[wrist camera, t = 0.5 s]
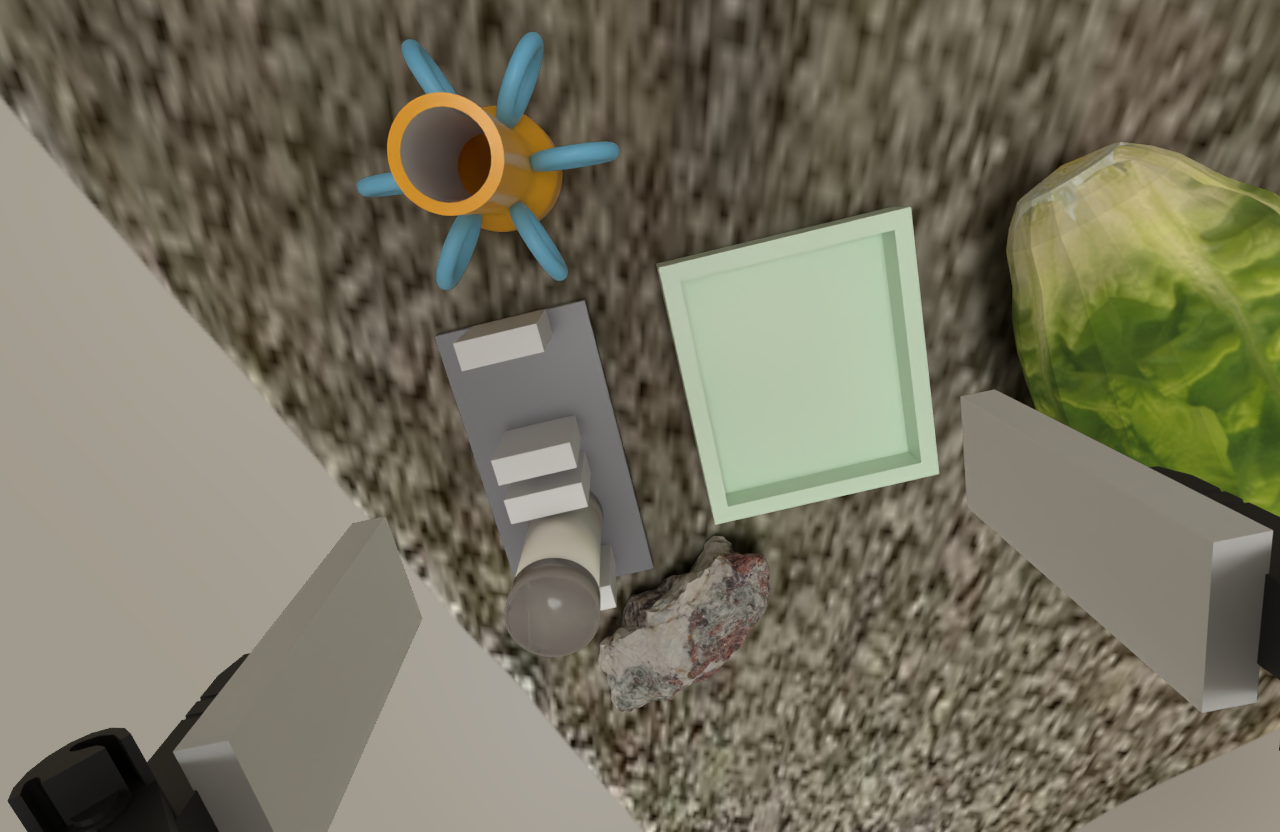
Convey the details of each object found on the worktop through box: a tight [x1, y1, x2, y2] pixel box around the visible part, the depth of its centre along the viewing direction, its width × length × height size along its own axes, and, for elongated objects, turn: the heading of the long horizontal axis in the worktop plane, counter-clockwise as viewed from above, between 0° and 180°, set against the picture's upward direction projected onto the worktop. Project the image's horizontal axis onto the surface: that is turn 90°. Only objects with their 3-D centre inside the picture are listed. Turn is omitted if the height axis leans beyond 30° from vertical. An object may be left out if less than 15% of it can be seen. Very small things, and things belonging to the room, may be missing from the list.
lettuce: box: [1006, 142, 1280, 517], centre depth 35 cm, size 17×23×16 cm
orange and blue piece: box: [357, 32, 619, 290], centre depth 31 cm, size 12×10×15 cm
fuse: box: [504, 490, 603, 657], centre depth 38 cm, size 5×5×11 cm
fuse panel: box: [435, 299, 654, 611], centre depth 40 cm, size 18×9×6 cm, turn 13°
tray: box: [656, 207, 939, 525], centre depth 41 cm, size 16×14×2 cm
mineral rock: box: [598, 536, 771, 712], centre depth 45 cm, size 15×8×4 cm, turn 127°
